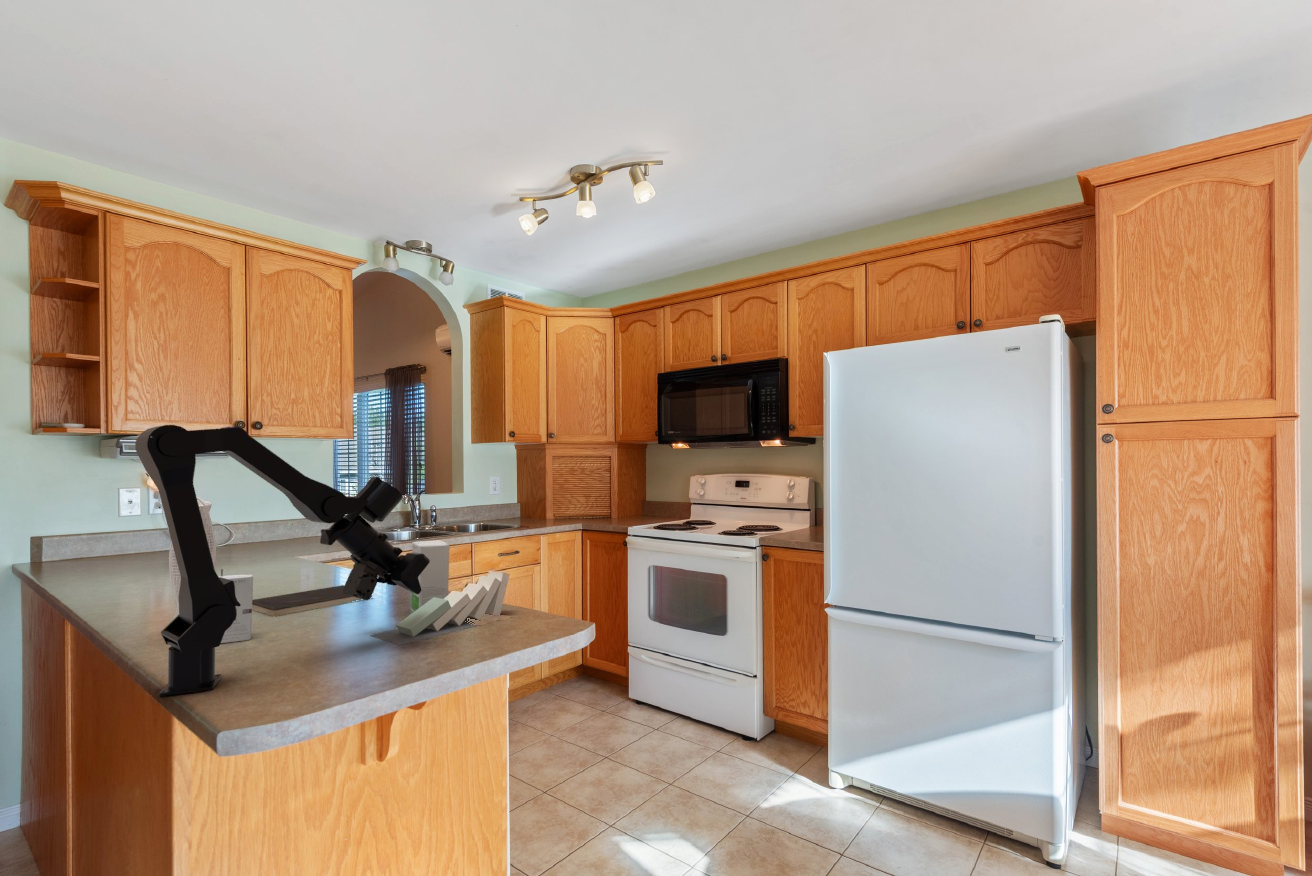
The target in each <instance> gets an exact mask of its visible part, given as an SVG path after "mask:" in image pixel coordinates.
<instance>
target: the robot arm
mask: <svg viewBox="0 0 1312 876" xmlns="http://www.w3.org/2000/svg"><path fill="white" fill-rule="evenodd" d="M134 447H135V451H136V454H137V456H138V458H139V460H140V462H141V464H142V466H143V468H144V470H145V471H146V473H147V474H148V477H150V479H151V480H152V482H153V484H154V486H156V489H157V490H158V493H159V497H160V502H161V505H162V509H163V513H164V517H165V520H166V521H165V522H166V525H167V528H168V529H167V530H168V533H169V537H170V542H171V541H172V544H173V548H174V552H175V556H176V560H177V564H178V568H179V572H180V575H181V583H180V590H179V615H178V616H177V617H176V618H175V619H174V618H173V619H172V621H171V622H169V623H168V624H167V625H166V626H165V627H164V628H163V629H162V630H161V632H160V635H161V637H162V639H163V641H164V644H165V645H168V646H169V647H168V656H167V657H168V659H167V660H168V664H167V667H168V670H167V671H168V673H167V684H166V685H165V686H164V687H163V688H162V689H161V690H160V691H159V694H158V695H159V696H160V697H164V696H172V695H181V694H189V693H196V692H204V691H210V690H214V688H215V687H216V685H217V684H218V683H219V681H220V680H222V678H223V677H222V676H223V675H222V673H217V674H216V648H217V647H220V646H221V644H222V643H221V641H222V638H223V636H224V633H225V631H226V630H227V629H228V628H229V627H230V626H231V625H232V624H233V622H234V621H235V620H236V616H237V610H236V606H241V604H240V603H239V602H238V601H237V599H236V596H235V585H234V581H232V580H228V579H225V578H221V577H218V576H219V575H218V573H217V572H216V570H215V569H216V568H215V569H214V565H213V561H212V557H211V553H210V549H209V545H208V541H207V537H206V533H205V529H204V525H203V521H202V517H201V513H200V509H199V505H198V501H199V500H197V497H198V496H197V494H196V490H195V486H194V485H195V484H194V477H195V470H196V464H197V462H196V460H197V459H196V457H197V456H196V455H200V454H208V453H220V452H223V453H225V454H226V455H228V456H229V457H231V458H233V460H235V461H237V462H238V463H239V464H241V465H242V466H244V467H246V468H247V469H248V470H249V471H251V472H253V473H254V474H256V475H257V476H258V477H259V478H261V479H262V480H264V481H266V483H268V484H270V485H271V486H273V487H274V488H276V489H277V490H279V491H280V492H281V493H282V494H284V495H285V496H286V498H288V499H289V501H290V503H291V505H292V507H294V508H295V509H296V510H297V511H298V512H299V513H300V515H302V516H303V517H304V518H305V519H306V520H308V521H311V522H313V523H324V524H331V526H329V527H328V528H322V529H320V534H321V535H320V539H319V540H320V541H319V543H320V544H321V545H326V546H332V545H334V543H335V542H336V541H337V542H338V543H339V545H341V546H342V547H343V548H344V549H345V550H346V551H348V552H349V553H350V560H351V561H352V562H353V563H354V564H353V565H352V566H353V567H352V569H351V570H350V572H349V574H348V577H347V580H346V581H345V583H344V588H343V594H346V595H349V596H352V597H356V598H359V599H363V600H362V601H369V600H371V599H370V597H371V596H372V597H373V594H374V592H375V588H376V586H377V584H378V583H379V584H386V585H390V586H399V587H401V588H403V589H404V590H407V591H409V592H410V593H411V592H413V593H415V594H419V593H420V592H421V586H420V583H419V579H418V577H419V575H420V574H421V573H422V572H423V570H424V569H425V568H426V566H427V565H428V564H429V563H430V560H429V559H428V558H427V557H426V556H425V555H424V554H422V553H414V552H412V551H411V552H407V553H406V554H402V553H403V549H401V548H400V547H398V546H393V545H392V544H391V543H390V542H389V541H388V540H387V539H388V538H389V536H388V535H386V533H383V532H381V533H380V532H379V531H377V529H376V528H374V527H373V526H372V524H370V523H374V524H375V522H379V523H381V522H384V521H385V519H386V518H388V516H389V515H390V514H391V513H392V511H393V510H394V509H395V508H396V507H397V506H398V504H399V503H400V502H401V501H403V498H404V497H403V495H402V493H401V491H400V490H399V489H398V488H397V487H394V486H393V485H391V484H390V483H389V482H386V481H384V480H382V478H381V477H379V476H371V477H370V479H369V480H368V481H367V482H366V484H365V485H364V487H362V489H361V490H360V491H358V493H357V494H355V496H352V495H351V496H346V495H345V494H344V493H343V492H341V490H340V491H339V490H338V489H336V488H334V487H332V486H329V485H328V484H326V483H323V482H320V481H318V480H315V479H313V478H311V477H308V476H306V475H305V474H303V473H302V472H300V471H299V470H298V469H296V468H295V467H294V466H292V465H290V464H289V463H288V462H286V461H285V460H284V459H283V458H282V457H280V456H279V455H277V454H276V453H274V452H273V451H271V450H270V449H269V448H268V447H266V446H264V445H263V444H262V443H261V442H259V441H258V440H257V439H255V438H253V436H251V435H250V434H248V433H247V431H246V430H245V429H244V428H242V427H241V426H237V425H232V426H224V427H220V428H209V429H194V430H193V429H192V430H187V429H186V428H184V427H182V426H181V425H180V426H179V425H175V424H164V425H159V426H154V427H150V428H146V429H145V430H144V431H142V432H141V433H140V435H138V437H137V438H136V440H135V445H134ZM196 496H197V497H196Z"/></svg>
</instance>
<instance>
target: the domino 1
mask: <svg viewBox="0 0 1312 876" xmlns="http://www.w3.org/2000/svg"><path fill="white" fill-rule="evenodd" d="M450 608H451V606H450V604H449V601H448V600H445V599H440V598H436V597H433V598H432V599H431V600H429V601H428V602H427V603H425V604H424V605H423V606H421V607H420V608H419V609H417V610H416V611H415V612H413V611H412V613H410V614H409V615H408V616H406V617H405V618H404V619H403V620H401V621H399V622H398V623H396V627H397V629H399V631H400V633H403V634H406V635H410V636H413V637H414V636H416V635H417V634H418V633H419V632H421V631H422V630H423V629H425V628H426V627H427V626H428V625H430V624H431V623H432V622H434V621H435V620H436V619H437V618H439V617H440V616H441V615H443V614H444V613H445V612H446V611H448V610H449V609H450Z"/></svg>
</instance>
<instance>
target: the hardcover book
mask: <svg viewBox="0 0 1312 876" xmlns="http://www.w3.org/2000/svg"><path fill="white" fill-rule="evenodd" d="M344 586H345V584H342V585H336V586H330V587H323V588H318V589H317V588H316V589H311V590H305V591H299V592H293V593H287V594H286V593H285V594H280V595H274V596H273V595H272V596H268V597H262V598H256V599H252V611H254V610H255V612H257V611H259V613H260V612H262V613H261V614H264V613H265V614H264V615H267V616H270V615H271V616H270V617H273V616H275V617H280V616H286V615H289V614H288V613H291V614H295V613H294V612H297V613H301V612H300V611H302V612H306V611H305V610H308V611H311V609H313V610H317V609H316V608H318V609H322V607H324V608H329V607H334V605H335V606H340V605H343V604H342V603H346V604H348V603H347V602H351V603H353V602H352V601H356V600H361V599H359V598H356V597H352V596H349V595H346V594H343V588H344ZM371 597H372V598H373V595H372V596H371ZM371 597H370V598H371ZM285 614H286V615H285ZM279 615H280V616H279Z"/></svg>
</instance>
